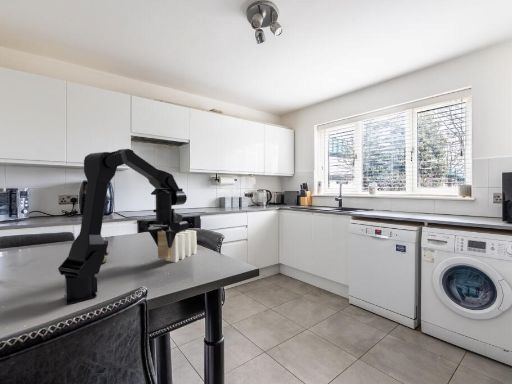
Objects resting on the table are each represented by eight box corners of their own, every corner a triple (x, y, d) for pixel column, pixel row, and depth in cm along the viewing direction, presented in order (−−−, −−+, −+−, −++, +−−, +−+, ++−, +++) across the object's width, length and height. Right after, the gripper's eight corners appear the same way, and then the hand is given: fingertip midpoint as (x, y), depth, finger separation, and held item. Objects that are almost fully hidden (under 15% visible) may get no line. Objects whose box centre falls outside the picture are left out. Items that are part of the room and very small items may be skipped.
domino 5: (194, 254, 110) (194, 231, 110) (185, 253, 112) (184, 230, 111) (196, 253, 111) (196, 230, 111) (187, 252, 113) (187, 230, 113)
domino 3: (182, 259, 102) (182, 234, 102) (172, 258, 104) (172, 233, 104) (185, 258, 104) (184, 234, 104) (175, 257, 106) (174, 233, 106)
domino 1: (168, 259, 95) (167, 232, 95) (158, 257, 97) (157, 231, 97) (171, 257, 96) (170, 231, 96) (161, 256, 98) (160, 231, 98)
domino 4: (188, 256, 106) (188, 233, 106) (179, 255, 108) (178, 232, 108) (191, 255, 108) (190, 232, 107) (181, 254, 109) (181, 231, 109)
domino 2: (175, 262, 99) (175, 236, 98) (165, 260, 101) (165, 235, 100) (178, 260, 100) (178, 235, 100) (168, 259, 102) (168, 235, 102)
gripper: (196, 205, 100) (197, 244, 100) (160, 204, 107) (160, 241, 108) (178, 207, 90) (178, 251, 90) (138, 206, 97) (139, 247, 97)
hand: (164, 247), depth 97 cm, fingers closed on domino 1, 5 cm apart
